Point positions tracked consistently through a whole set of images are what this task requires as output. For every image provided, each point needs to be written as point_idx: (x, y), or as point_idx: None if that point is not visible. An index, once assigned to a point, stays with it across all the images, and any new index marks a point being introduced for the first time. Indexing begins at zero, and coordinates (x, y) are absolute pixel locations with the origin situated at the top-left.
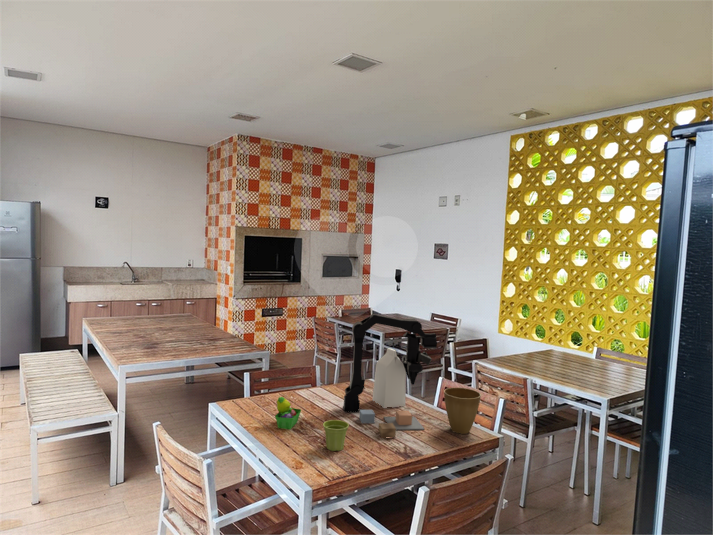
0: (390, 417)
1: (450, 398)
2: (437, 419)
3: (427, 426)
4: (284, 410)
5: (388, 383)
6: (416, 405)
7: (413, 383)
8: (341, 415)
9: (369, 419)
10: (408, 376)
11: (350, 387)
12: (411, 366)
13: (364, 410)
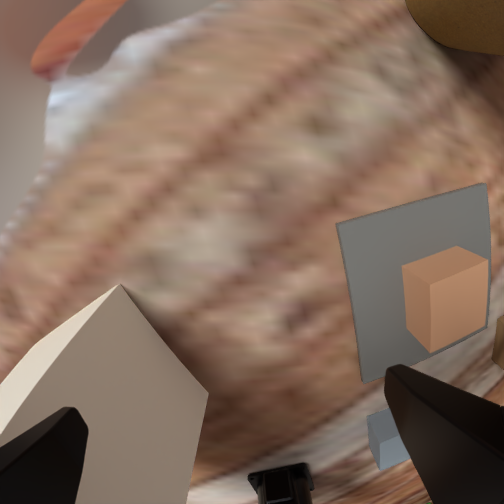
0: (372, 355)
1: None
2: (324, 77)
3: (443, 158)
4: None
5: (168, 495)
6: (83, 213)
7: (411, 376)
8: (341, 484)
9: None
10: (75, 448)
11: None
12: None
13: (389, 458)
